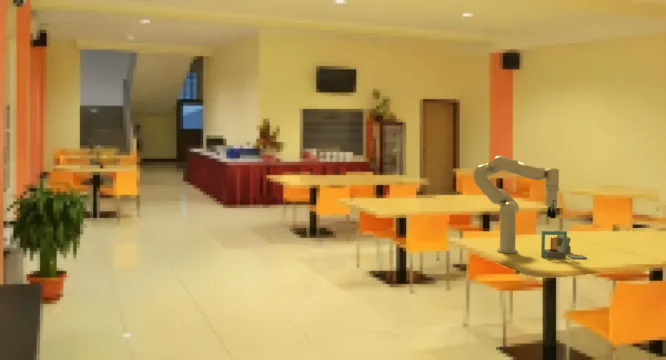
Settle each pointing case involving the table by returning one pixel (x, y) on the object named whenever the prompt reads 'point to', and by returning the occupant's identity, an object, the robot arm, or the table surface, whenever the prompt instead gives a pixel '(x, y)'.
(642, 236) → the table surface
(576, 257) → the mat
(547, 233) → the green arch
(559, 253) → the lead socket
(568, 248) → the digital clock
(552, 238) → the cylinder
